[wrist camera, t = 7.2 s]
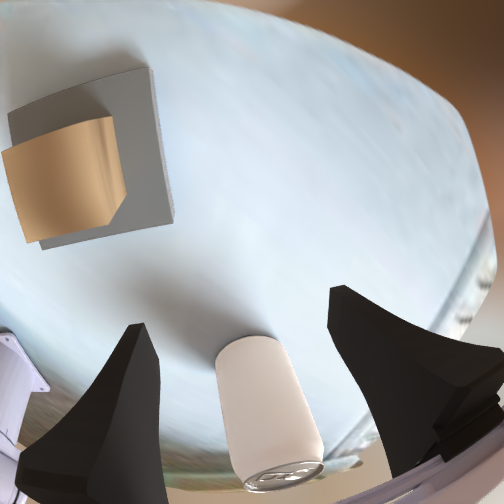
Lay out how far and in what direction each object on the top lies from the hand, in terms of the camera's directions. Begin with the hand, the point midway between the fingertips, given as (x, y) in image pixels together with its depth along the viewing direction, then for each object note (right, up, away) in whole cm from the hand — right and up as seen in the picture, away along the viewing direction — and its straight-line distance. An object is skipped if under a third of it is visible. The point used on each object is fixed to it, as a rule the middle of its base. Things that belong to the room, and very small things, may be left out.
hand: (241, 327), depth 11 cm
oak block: (-9, +8, +3) cm, 12 cm away
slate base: (-9, +9, +5) cm, 14 cm away
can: (0, -7, +15) cm, 16 cm away
